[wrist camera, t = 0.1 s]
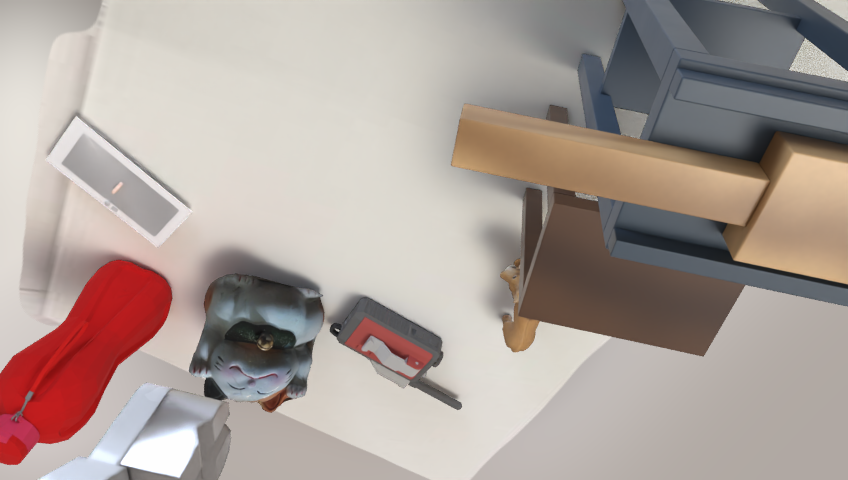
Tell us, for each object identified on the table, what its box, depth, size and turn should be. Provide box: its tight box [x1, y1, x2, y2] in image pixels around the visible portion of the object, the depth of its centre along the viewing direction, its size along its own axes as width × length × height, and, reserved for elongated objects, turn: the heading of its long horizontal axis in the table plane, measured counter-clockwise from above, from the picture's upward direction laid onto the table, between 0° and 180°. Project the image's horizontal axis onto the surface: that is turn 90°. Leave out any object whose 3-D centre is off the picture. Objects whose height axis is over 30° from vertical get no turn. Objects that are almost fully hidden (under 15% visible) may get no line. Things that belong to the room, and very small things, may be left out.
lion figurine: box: [500, 259, 540, 352], centre depth 64 cm, size 15×5×9 cm, turn 3°
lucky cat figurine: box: [189, 274, 324, 413], centre depth 71 cm, size 15×12×14 cm
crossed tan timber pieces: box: [451, 104, 848, 284], centre depth 27 cm, size 6×20×2 cm, turn 82°
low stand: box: [518, 105, 745, 356], centre depth 52 cm, size 10×14×18 cm
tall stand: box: [577, 0, 848, 306], centre depth 39 cm, size 10×14×29 cm
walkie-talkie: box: [330, 298, 462, 410], centre depth 74 cm, size 9×4×20 cm
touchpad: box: [46, 116, 192, 248], centre depth 68 cm, size 8×15×2 cm, turn 45°
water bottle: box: [0, 260, 172, 465], centre depth 67 cm, size 9×11×25 cm
